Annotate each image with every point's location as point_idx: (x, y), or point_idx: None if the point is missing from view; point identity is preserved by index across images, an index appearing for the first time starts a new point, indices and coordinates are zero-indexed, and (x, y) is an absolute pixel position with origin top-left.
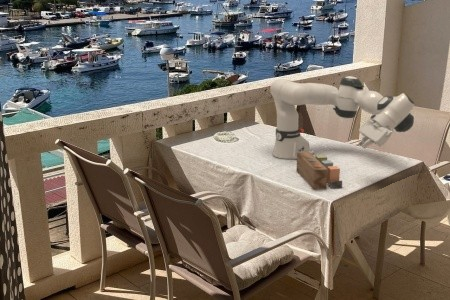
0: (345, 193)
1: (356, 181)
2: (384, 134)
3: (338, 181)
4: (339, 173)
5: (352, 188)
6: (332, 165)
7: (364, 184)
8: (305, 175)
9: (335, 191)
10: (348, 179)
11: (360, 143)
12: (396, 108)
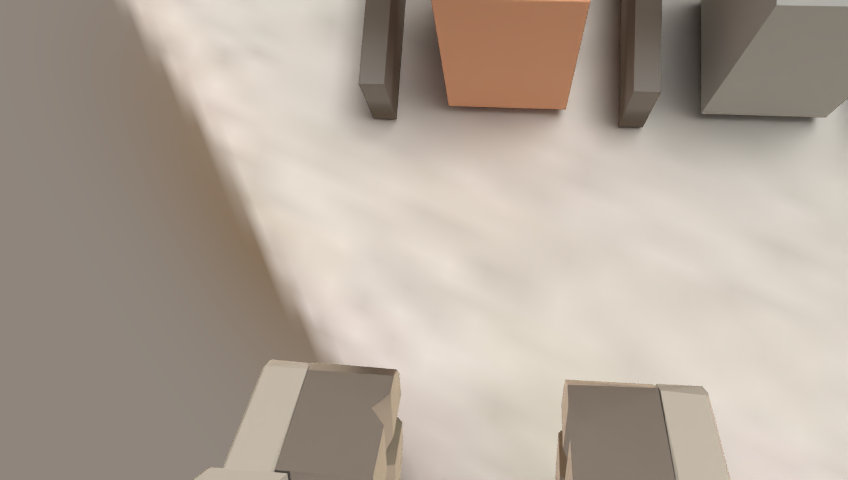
0: (207, 96)
1: None
2: None
3: (364, 32)
4: (437, 33)
5: (336, 245)
6: (761, 15)
7: (436, 470)
8: None
9: (297, 11)
10: (674, 340)
11: (564, 411)
12: None
